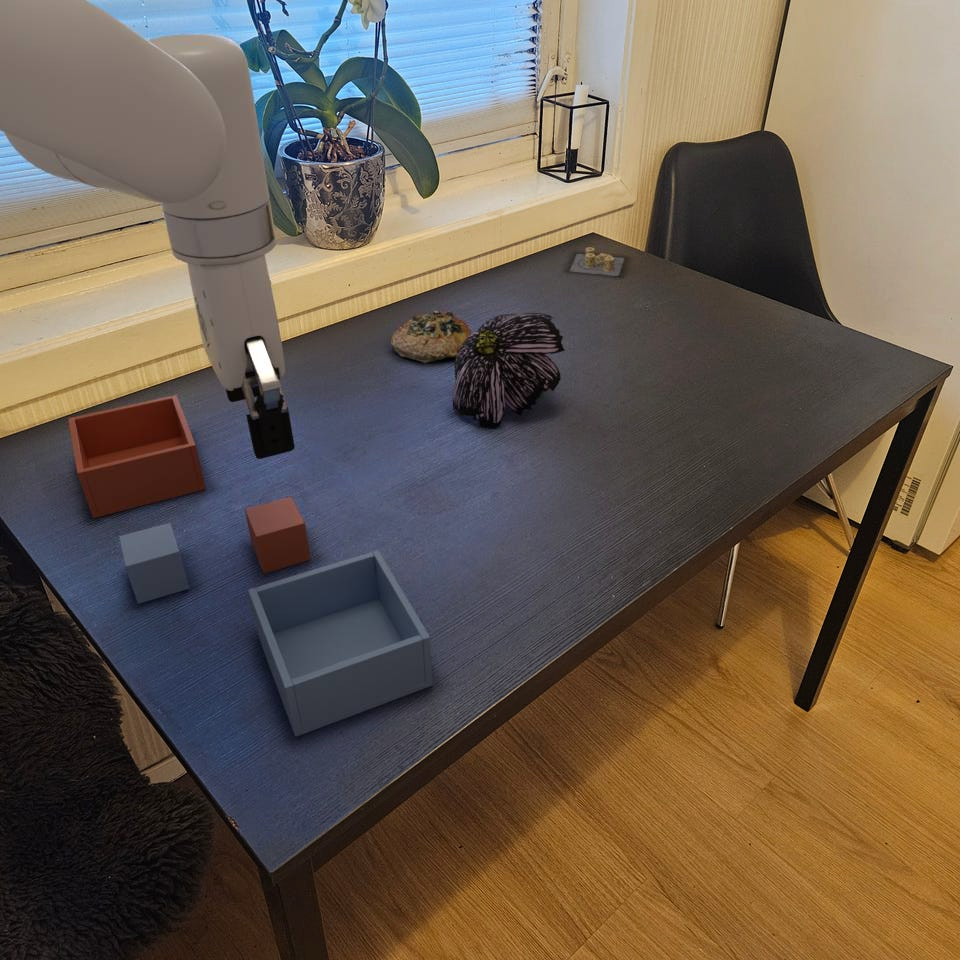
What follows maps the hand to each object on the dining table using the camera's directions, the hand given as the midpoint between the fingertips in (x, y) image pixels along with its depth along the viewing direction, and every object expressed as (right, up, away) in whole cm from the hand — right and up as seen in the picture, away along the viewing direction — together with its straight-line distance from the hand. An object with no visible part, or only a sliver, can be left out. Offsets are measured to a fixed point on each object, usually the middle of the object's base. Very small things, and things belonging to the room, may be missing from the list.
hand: (260, 423), depth 71 cm
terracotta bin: (-18, -4, +18) cm, 26 cm away
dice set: (+38, +31, +66) cm, 83 cm away
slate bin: (+7, -20, -3) cm, 21 cm away
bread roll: (+12, +13, +43) cm, 47 cm away
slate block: (-11, -14, +5) cm, 18 cm away
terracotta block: (0, -12, +8) cm, 14 cm away
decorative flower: (+22, +5, +31) cm, 38 cm away
